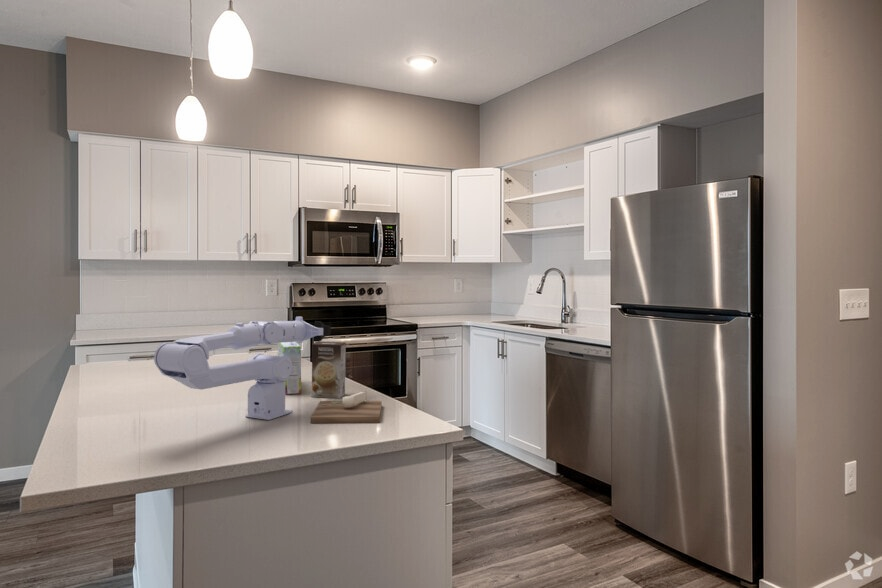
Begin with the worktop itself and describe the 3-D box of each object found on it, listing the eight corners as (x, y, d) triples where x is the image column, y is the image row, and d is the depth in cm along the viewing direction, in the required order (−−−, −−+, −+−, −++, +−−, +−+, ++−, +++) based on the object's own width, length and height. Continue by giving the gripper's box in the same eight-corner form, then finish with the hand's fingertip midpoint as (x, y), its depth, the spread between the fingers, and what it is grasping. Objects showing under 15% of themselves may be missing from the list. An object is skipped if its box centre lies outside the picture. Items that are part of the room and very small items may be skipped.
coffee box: (310, 397, 176) (310, 343, 175) (317, 393, 182) (317, 341, 181) (340, 398, 175) (340, 344, 174) (346, 393, 181) (346, 341, 180)
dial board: (379, 422, 147) (379, 415, 147) (310, 423, 146) (310, 416, 146) (381, 406, 165) (381, 400, 165) (320, 406, 164) (320, 400, 164)
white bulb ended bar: (350, 407, 153) (350, 398, 153) (340, 406, 155) (340, 397, 155) (370, 400, 163) (370, 391, 163) (360, 398, 164) (360, 390, 164)
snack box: (276, 382, 198) (276, 338, 198) (293, 381, 200) (293, 337, 200) (283, 395, 178) (283, 345, 178) (302, 394, 180) (302, 345, 180)
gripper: (308, 317, 156) (339, 316, 168) (267, 316, 163) (300, 315, 175) (308, 343, 156) (339, 341, 168) (266, 341, 162) (299, 339, 175)
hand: (319, 330), depth 171 cm, fingers open, 7 cm apart
